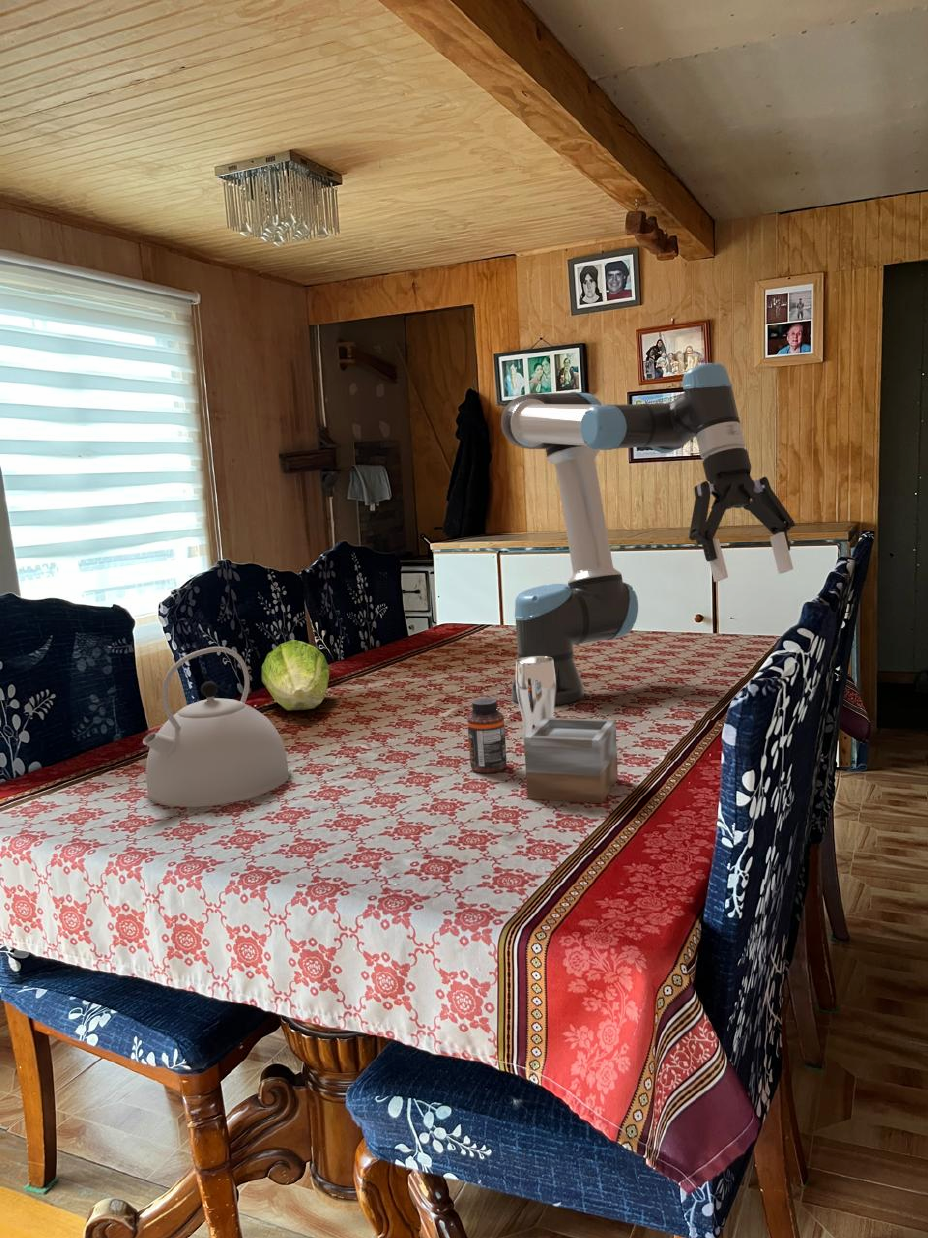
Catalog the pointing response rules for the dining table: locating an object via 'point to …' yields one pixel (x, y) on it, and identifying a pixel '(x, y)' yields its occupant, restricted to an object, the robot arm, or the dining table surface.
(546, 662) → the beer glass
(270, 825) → the dining table surface
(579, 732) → the wooden box
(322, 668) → the lettuce
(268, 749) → the kettle
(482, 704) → the supplement bottle
